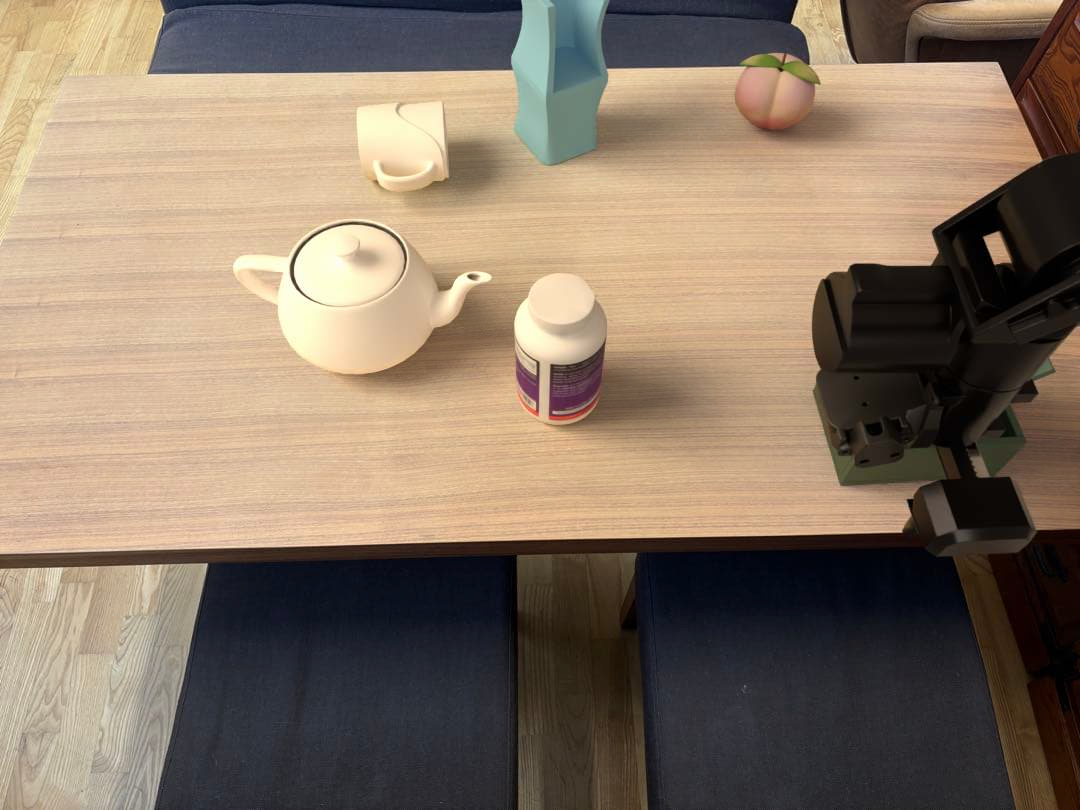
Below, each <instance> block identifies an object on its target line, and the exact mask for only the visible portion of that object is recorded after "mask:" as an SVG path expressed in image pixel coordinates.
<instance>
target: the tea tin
mask: <svg viewBox="0 0 1080 810" xmlns="http://www.w3.org/2000/svg"><path fill="white" fill-rule="evenodd" d="M812 394H813V397H814V401H815V404H816V408H817V411H818V414H819V417H820V422H821V424H822V429H823V431H824V435H825V438H826V442H827V446H828V449H829V452H830V457H831V459H832V462H833V466H834V469H835V472H836V476H837V480H838V482H839V486H856V485H857V486H859V485H875V484H892V483H894V484H895V483H910V482H928V481H929V482H930V481H938V480H942V479H946V476H945V473H944V471H943V468H942V465H941V462H940V459H939V457H938V454H937V451H936V448H935V445H933V444H931V445H930V446H929V447H927V448H911V449H909V448H908V445H907V443H906V444H904V445H903V446H904V456H903V458H902V459H900V460H899V461H897V462H893V463H888V464H883V465H878V466H873V467H868V468H859V467H856V466H855V464H854V460H853V458H852V457H851V456H839V455H838V453H837V450H836V449H835V448H834V447H833V446H832V445H831V443H830V440H829V437H828V432H827V429H826V425H825V422H824V418H823V415H822V411H821V408H820V404H819V397H818V390H817V383H816V382H815V385H814V387H813V389H812ZM1000 416H1001V419H1002V421H1003V423H1004V426H1005V428H1006V430H1005V431H1004V432H1003V434H1002V435H1001V436H1000V437H999V438H983V439H978V440H977V441H976V443H977V445H978V448H979V450H980V453H981V456H982V458H983V461H984V463H985V466H986V468H987V471H988V473H989V476H990V477H997V475H998V474H999V473H1000V472H1001V471H1002V470H1003V469H1004V468H1005V467H1006V466H1007V465H1008V464H1009V463H1010V461H1012V460H1013V458H1014V457H1015V456H1016V455H1017V454H1018V453H1019V452H1020V451H1021V450H1022V449H1023V448H1024V447H1025V446H1026V445H1027V444H1028V441H1027V438H1026V436H1025V434H1024V432H1023V430H1022V427H1021V425H1020V423H1019V420H1018V418H1017V416H1016V413H1015V411H1014V409H1013V406H1012V404H1009V405H1008V406H1007V407H1006V408H1005V410H1004V411H1003V412H1002V413H1001V414H1000Z"/></svg>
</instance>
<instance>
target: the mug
mask: <svg viewBox="0 0 1080 810" xmlns="http://www.w3.org/2000/svg"><path fill="white" fill-rule="evenodd" d="M447 132H448V131H447V119H446V111H445V102H444V100H436V101H435V100H434V101H426V102H418V103H409V104H406V103H405V102H403V101H400V102H390V103H382V104H381V103H380V104H371V105H362V106H358V107H357V110H356V133H357V143H358V145H357V146H358V154H359V159H360V165H361V170H362V175H363V177H364V179H365V180H366V181H377V182H378V184H379V186H381V187H382V188H383V189H385V190H387V191H391V192H397V193H399V192H401V193H402V192H403V193H404V192H411V191H417V190H420V189H423V188H426V187H427V186H429V185H431V184H432V183H433V182H442V181H444V180H445V179H449V178H450V164H449V162H450V161H449V149H448V147H449V146H448V133H447Z"/></svg>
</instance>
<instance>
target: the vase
mask: <svg viewBox="0 0 1080 810" xmlns="http://www.w3.org/2000/svg"><path fill="white" fill-rule="evenodd" d="M610 1H611V0H521V6H522V7H521V8H522V10H521V11H522V20H521V27H520V28H521V29H520V32H519V36H518V39H517V42H516V45H515V47H514V49H513V52H512V55H511V56H510V60H511V61H510V62H511V64H510V65H511V67H512V71H513V76H514V79H515V83H516V88H517V95H518V106H517V107H518V108H517V112H516V118H515V122H514V125H513V128H512V130H513V132H515V134H516V135H517V137H519V139H520V140H521V142H523V144H524V145H525V146H526V147H527V149H528V150H529V151H530V153H532V155H533V156H534V157H535V158H536V159H537V161H538V162H540V163H541V164H542V165H547V166H554V165H557V164H560V163H563V162H566V161H568V160H571V159H573V158H576V157H578V156H582V155H583V154H586V153H590V152H592V151H593V150H596V149H597V147H598V137H597V128H596V127H597V117H598V116H597V114H598V110H599V106H600V103H601V101H602V97H603V95H604V92H605V91H606V88H607V86H608V83H609V72H608V68H607V64H606V61H605V57H604V53H603V46H602V45H603V44H602V28H603V24H604V23H603V22H604V18H605V16H606V11H607V9H608V6H609V3H610Z"/></svg>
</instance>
